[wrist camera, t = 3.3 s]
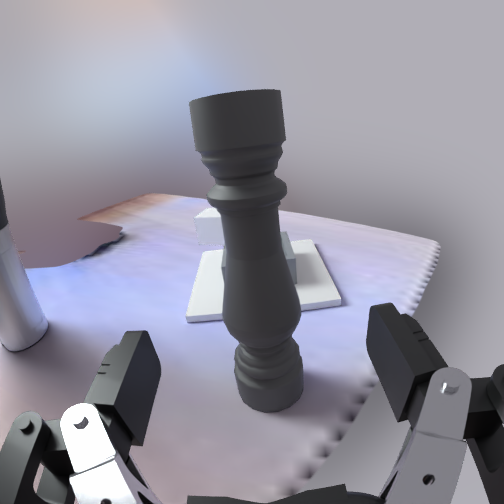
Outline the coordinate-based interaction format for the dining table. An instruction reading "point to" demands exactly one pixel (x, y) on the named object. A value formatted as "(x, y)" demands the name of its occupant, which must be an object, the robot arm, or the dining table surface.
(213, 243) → the white cube
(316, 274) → the collar board
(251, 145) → the candle holder
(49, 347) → the dining table surface
